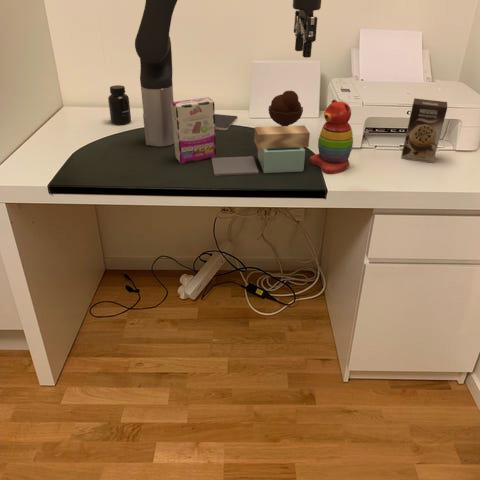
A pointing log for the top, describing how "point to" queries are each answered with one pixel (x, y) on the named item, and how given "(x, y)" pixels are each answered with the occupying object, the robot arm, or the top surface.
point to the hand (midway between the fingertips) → (302, 54)
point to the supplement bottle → (119, 106)
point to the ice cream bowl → (285, 108)
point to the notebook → (224, 121)
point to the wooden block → (281, 137)
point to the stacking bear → (334, 139)
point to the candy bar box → (194, 129)
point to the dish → (281, 159)
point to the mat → (234, 166)
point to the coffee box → (424, 130)
